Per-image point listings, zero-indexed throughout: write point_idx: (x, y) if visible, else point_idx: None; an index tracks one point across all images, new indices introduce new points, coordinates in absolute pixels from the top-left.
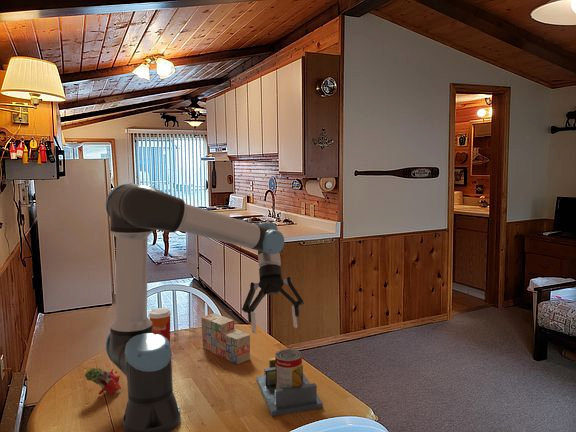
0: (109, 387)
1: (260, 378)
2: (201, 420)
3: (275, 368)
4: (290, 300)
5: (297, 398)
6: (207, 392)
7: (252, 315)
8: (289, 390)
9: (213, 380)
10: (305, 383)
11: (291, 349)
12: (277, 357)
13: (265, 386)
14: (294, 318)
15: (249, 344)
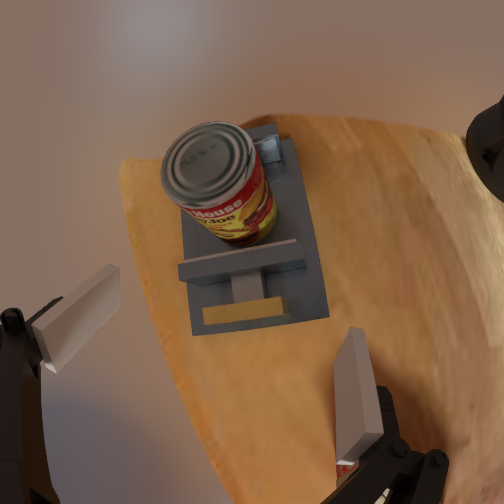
0: None
1: (317, 302)
2: (434, 148)
3: (266, 255)
4: (17, 361)
5: None
6: (451, 263)
7: (368, 406)
8: None
9: (444, 329)
10: (194, 256)
11: (185, 204)
12: (248, 137)
13: (304, 251)
14: (86, 284)
15: (338, 475)
